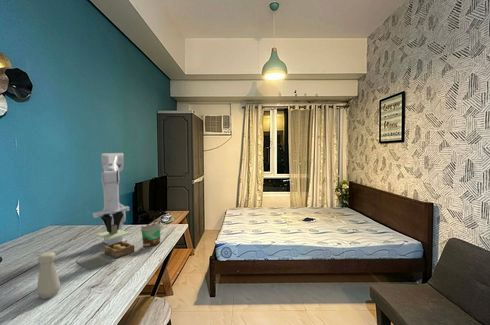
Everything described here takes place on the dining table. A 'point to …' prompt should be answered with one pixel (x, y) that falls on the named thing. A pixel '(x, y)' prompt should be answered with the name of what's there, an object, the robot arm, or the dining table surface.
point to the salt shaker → (47, 276)
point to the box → (119, 249)
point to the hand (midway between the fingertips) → (112, 231)
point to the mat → (95, 261)
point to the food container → (151, 234)
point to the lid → (113, 233)
